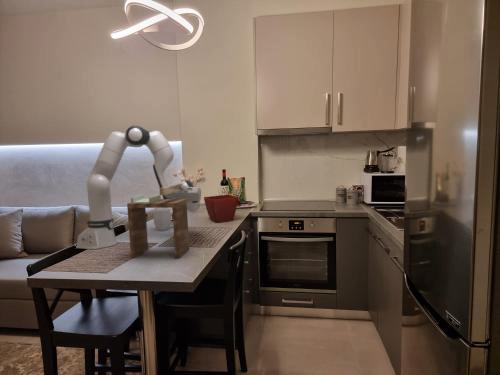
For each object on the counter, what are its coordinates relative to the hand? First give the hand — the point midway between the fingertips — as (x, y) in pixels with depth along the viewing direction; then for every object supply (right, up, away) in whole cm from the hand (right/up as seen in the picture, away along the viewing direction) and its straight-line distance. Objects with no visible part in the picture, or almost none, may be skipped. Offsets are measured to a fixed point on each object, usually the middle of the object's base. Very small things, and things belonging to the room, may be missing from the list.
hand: (176, 186), depth 176 cm
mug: (-18, -28, +48) cm, 58 cm away
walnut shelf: (-6, -33, -6) cm, 34 cm away
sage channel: (-13, -7, -7) cm, 17 cm away
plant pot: (+17, -24, +70) cm, 76 cm away
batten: (-1, -3, -6) cm, 7 cm away
